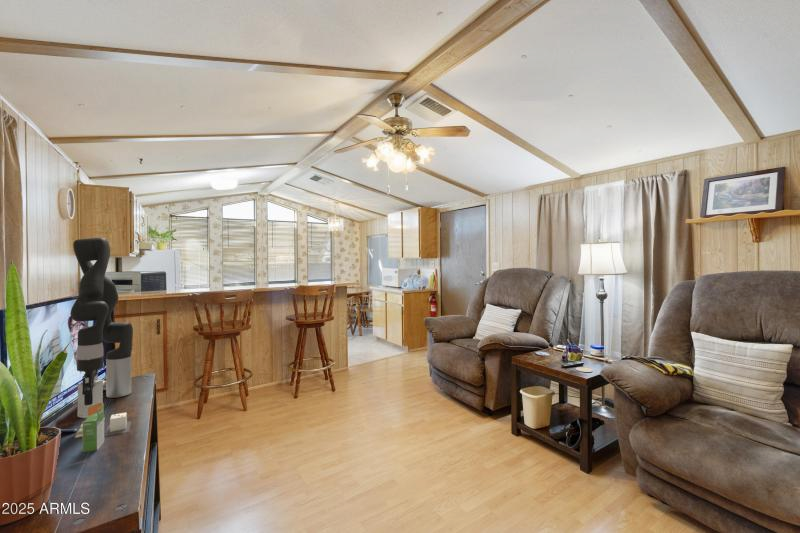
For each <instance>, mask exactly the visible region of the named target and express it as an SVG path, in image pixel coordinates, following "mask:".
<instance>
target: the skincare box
mask: <svg viewBox="0 0 800 533" xmlns="http://www.w3.org/2000/svg"><path fill="white" fill-rule="evenodd" d="M82 386H83V382H81V383H78V384H77V418H84V419H87V418H88V417H89V416H90V415H93V414H97V409H98V408H99V407H100V406H101V405H102V404H103V403H104V402H103V399H104V398H103V397H104V394H103V392H104V380H103V379H98V380H96V383H95V387H94V388H93V403H92V404H91V405H84V395H83V394H82V392H83V387H82ZM88 390H90V388H86V391H88ZM101 411H102V408H101V409H100V411H99V413H100V412H101Z"/></svg>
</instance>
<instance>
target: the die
mask: <svg viewBox="0 0 800 533" xmlns="http://www.w3.org/2000/svg"><path fill="white" fill-rule="evenodd" d="M127 422H128V413H127V412H120V413H114V414H111V416H110V419H109V425H110V432H111V431H116V430H122V429H126V425H127Z"/></svg>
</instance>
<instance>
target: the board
mask: <svg viewBox="0 0 800 533" xmlns="http://www.w3.org/2000/svg"><path fill="white" fill-rule="evenodd" d="M106 420H107V418H106V417H104V424H105V423H106ZM83 422H84V421H82V422H81V424H80V425H79V428H78V429H77V432H76V434H75V435H74V437H73V439H74V440H77V439H83Z"/></svg>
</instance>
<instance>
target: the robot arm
mask: <svg viewBox="0 0 800 533" xmlns="http://www.w3.org/2000/svg"><path fill="white" fill-rule="evenodd" d="M72 246H73V247H72V248H73V252H74V255H75V258H76V260H77V262H78V265H79V267H80V270H81V272H82V274H83V275H82V277H81V278H80V282H79V289H78V290H79V291H78V294H77V295H78V296H77V298H76V299H75V301H74V303H73V304H72V307H71V308H70V309H71V310H70V317H71V319H72V320H74V321H75V322H80V323H81V322H93V321H94V322H95V323H94V324H93V325H91V326H85V327H83V328H80V329H78V331H77V349H76V371H77V372H84V374H83V375H82V379H81V380H82V383H83V386H82V387H83V392H82V394H83V395H84V405H91V404H92V403H93V388H94V387H95V383H96V380H99V378H98V377H99V371H98V370H101V369H103V367H104V344H103V342H104V343H107V344H118V343H119V346H118V347H117V348H115V349H112V350H109V351H107V352H106V355H105V362H106V363H105V364H106V365H105V368H106V370H105V371H106V372H105V377H106V378H105V379H106V380H105V381H106V382H105V384H106V385H105V388H106V390H105V394H106V395H105V396H106V397H107V398H110V399H111V398H112V399H113V398H120V397H125V396H128V395H130V394H131V393H132V352H133V340H134V339H133V338H134V337H133V336H134V328H133V325H132V323H130V322H122V321H121V322H113V320H112V312H113V310H114V308H116V306H117V303H118V301H119V292H118V291H117V286H116V284H115V282H113V281H112V280H111V279H110V278H109V277H107V276H106V272H107V268H108V264H109V261H110V258H111V246H110V244H109V241H108V240H107V238H105V237H90V238H89V237H88V238H87V237H86V238H79V239H76V240H74V241H73V244H72ZM92 261H95V262H94V264H93V263H92ZM86 388H90V390H88V391H86Z"/></svg>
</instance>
